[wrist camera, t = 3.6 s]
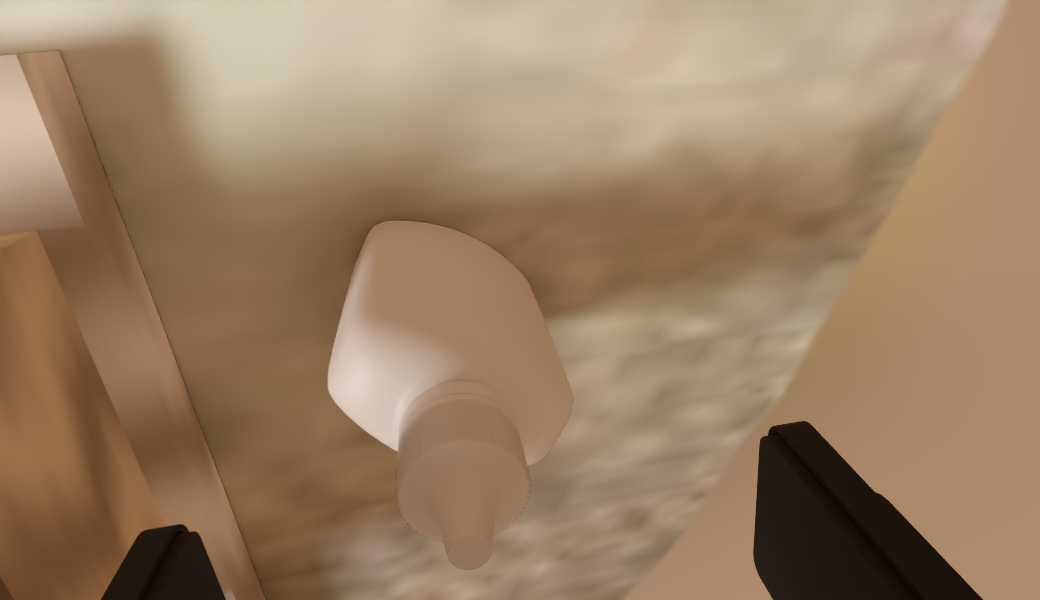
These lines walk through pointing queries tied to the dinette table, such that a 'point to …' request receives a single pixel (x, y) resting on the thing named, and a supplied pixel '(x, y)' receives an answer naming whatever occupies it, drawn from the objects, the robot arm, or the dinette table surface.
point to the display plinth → (112, 299)
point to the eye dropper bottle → (449, 379)
